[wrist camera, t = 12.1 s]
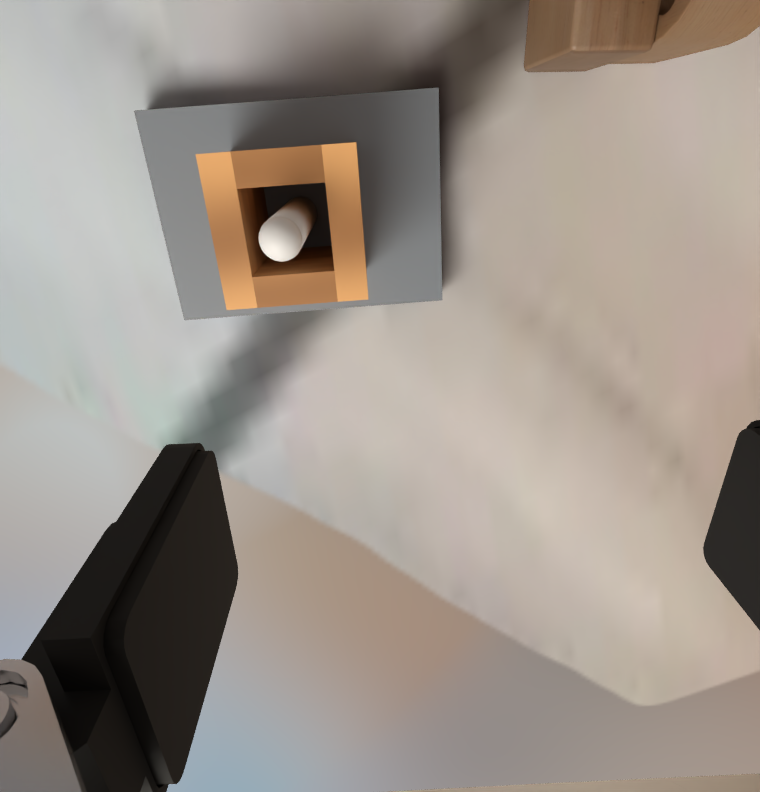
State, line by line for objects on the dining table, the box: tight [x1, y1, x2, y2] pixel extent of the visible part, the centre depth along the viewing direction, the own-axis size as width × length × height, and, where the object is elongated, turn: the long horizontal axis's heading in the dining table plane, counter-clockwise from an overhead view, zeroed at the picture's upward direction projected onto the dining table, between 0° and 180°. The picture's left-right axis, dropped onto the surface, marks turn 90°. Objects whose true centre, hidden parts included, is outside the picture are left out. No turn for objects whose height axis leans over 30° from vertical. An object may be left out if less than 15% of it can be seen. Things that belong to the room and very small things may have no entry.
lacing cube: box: [196, 142, 368, 310], centre depth 24 cm, size 6×6×6 cm
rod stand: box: [134, 88, 442, 320], centre depth 23 cm, size 10×14×10 cm
